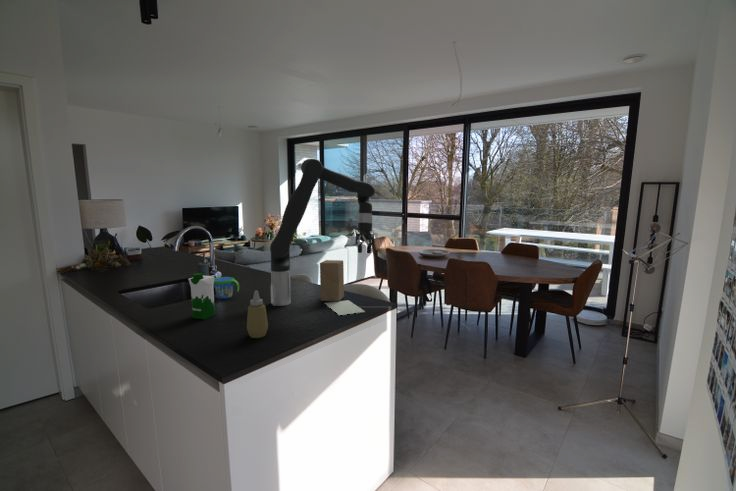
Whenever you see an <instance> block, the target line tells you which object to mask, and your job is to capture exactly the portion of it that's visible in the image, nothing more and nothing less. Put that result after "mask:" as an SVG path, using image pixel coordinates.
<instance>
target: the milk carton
mask: <svg viewBox="0 0 736 491" xmlns="http://www.w3.org/2000/svg"><path fill="white" fill-rule="evenodd" d="M215 278H216V277H215V276H212V275H204V273H202V272H196V273H193V274H192V277H191V278H188V279H187V280H188V283H189V286H190V295H191V319H197V320H207V319H209V318H211V317H214V316H216V313H217V312H216V307H215V295H214V279H215Z"/></svg>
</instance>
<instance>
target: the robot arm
mask: <svg viewBox="0 0 736 491" xmlns="http://www.w3.org/2000/svg"><path fill="white" fill-rule="evenodd" d="M300 170H301V172H302V176H301V179H300V181H299V183H298V185H297V187H296V188H295V189H294V191H293V193H292V194H291V195H290V198H289V200H288V202H287V204H286V207H285V209H284V212H283V216H282V218H281V222H280V226H279V229H278V231H277V233H276V234H275V237H274V239H273V240H272V241H271V243H270V247H269V250H270V274H271V275H270V276H271V277H270V279H271V280H270V282H271V284H270V303H271V305H272V306H273V307H274V306H275V307H277V306H278V307H283V306H288V305H290V304H291V303H292V302H291V301H292V300H291V298H292V297H291V293H292V292H291V258H290V257H291V256H290V254H291V253H290V251H291V250H290V248H291V244H292V240H293V238H294V235H295V234H296V233H295V232H296V230H297V229H298V227H299V226H300V223H301V222H302V220H303V218H304V215H305V212H306V210H307V207H308V205H309V203H310V200H311V197H312V194H313V191H314V189H315V187H316V186H317V183H318V181H319V180H321V181H324V182H326V183H329V184H331V185H333V186H336V187H338V188H340V189H341V190H344V191H347V192H349V193H356V194H357V195H356V197H357V203H358V218H357V233H355V245H356V246H357V253H358V254H362V253H363V244H364V243H365V245H366V254H371V253H372V246H375V233H374V232H372V231H373V204H372V203H371V202H370V198H372V197H373V196H375V194H376V189H375V187H374V185H373V184H371V183H369V182H365V181H361V180H358V179H355V178H353V177H351V176H348V175H346V174H344V173H340V172H337V171H334V170H331V169H328V168H326V167H325V166H323V164H322V162H321V161H320V160H319V159H316V158H307V159H305V160H303V161H302V163H301V166H300ZM358 232H359V233H358Z"/></svg>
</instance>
